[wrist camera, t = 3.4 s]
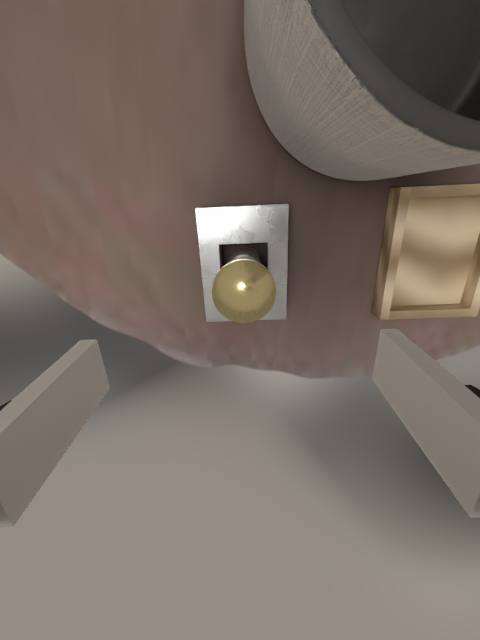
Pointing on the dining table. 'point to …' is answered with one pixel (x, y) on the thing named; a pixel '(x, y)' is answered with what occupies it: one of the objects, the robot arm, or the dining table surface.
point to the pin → (244, 287)
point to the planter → (368, 83)
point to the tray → (430, 253)
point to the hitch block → (237, 229)
